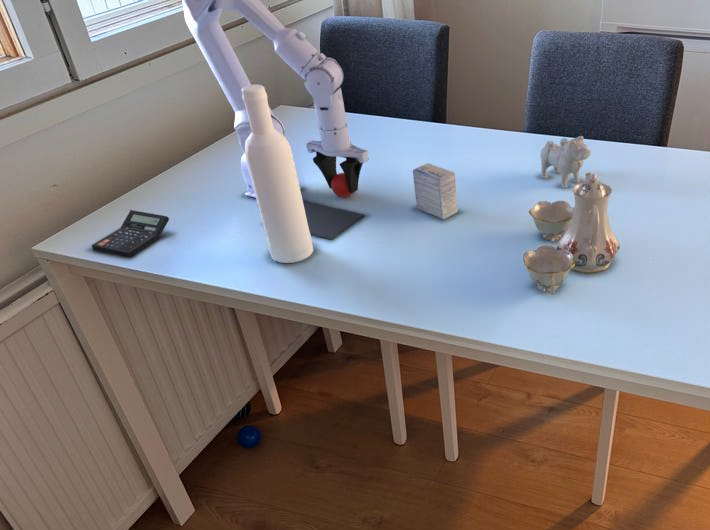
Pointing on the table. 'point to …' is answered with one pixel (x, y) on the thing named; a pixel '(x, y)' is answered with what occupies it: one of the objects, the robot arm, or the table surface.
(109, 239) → the calculator
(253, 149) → the bottle
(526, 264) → the chinaware
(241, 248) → the table surface
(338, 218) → the mat
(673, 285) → the table surface
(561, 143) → the dog figurine
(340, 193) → the ball
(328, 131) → the robot arm
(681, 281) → the table surface
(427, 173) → the grey streaked block
